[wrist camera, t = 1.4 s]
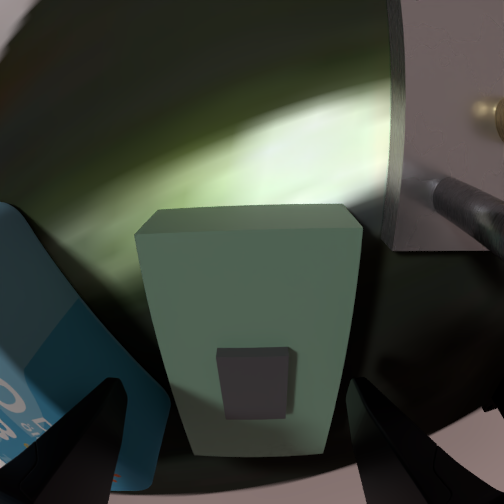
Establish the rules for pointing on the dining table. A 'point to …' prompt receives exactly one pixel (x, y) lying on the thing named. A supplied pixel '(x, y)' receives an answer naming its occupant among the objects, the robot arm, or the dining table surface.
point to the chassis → (446, 126)
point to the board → (252, 320)
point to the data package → (64, 359)
